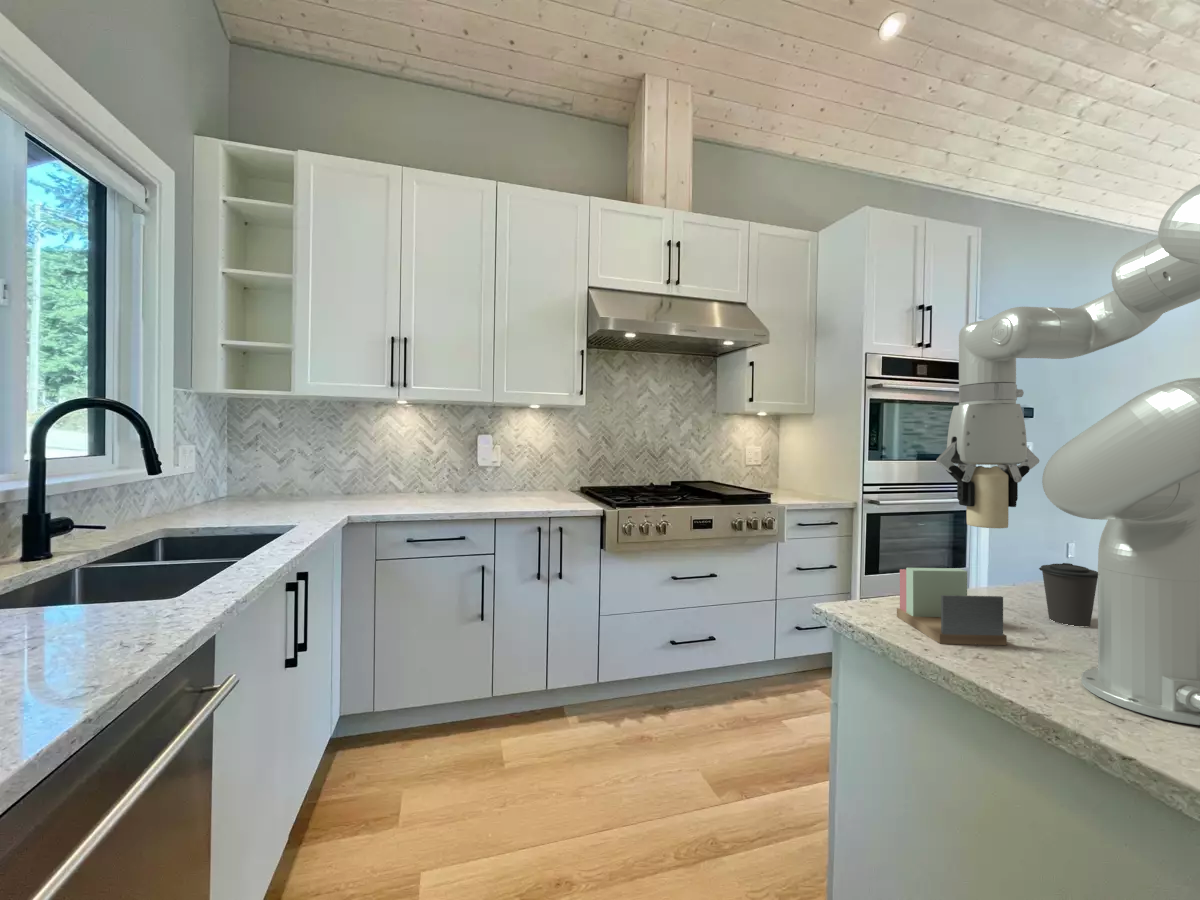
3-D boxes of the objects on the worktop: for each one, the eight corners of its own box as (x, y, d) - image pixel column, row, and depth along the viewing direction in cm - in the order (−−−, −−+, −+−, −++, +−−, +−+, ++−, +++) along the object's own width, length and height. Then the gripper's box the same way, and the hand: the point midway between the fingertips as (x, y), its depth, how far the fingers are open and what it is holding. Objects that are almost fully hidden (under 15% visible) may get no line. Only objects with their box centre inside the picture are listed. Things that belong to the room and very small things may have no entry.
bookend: (1003, 635, 79) (1003, 597, 79) (943, 634, 79) (943, 596, 79) (1000, 634, 79) (1000, 596, 79) (941, 633, 80) (941, 595, 80)
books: (967, 617, 87) (967, 571, 87) (913, 616, 88) (913, 570, 88) (951, 609, 92) (951, 565, 92) (899, 608, 92) (899, 564, 92)
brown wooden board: (1006, 645, 79) (1006, 635, 79) (939, 643, 79) (939, 634, 79) (953, 617, 92) (953, 609, 92) (896, 616, 92) (896, 608, 92)
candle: (1016, 527, 82) (1016, 466, 82) (993, 529, 80) (992, 466, 80) (981, 523, 87) (981, 465, 87) (958, 524, 85) (958, 465, 85)
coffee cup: (1075, 615, 93) (1074, 561, 93) (1115, 630, 85) (1115, 571, 85) (1027, 613, 94) (1027, 560, 94) (1063, 629, 86) (1062, 570, 86)
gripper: (1027, 398, 86) (1027, 504, 86) (919, 399, 88) (919, 503, 88) (1061, 393, 79) (1062, 509, 79) (943, 394, 81) (943, 507, 81)
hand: (986, 504), depth 83 cm, fingers closed on candle, 5 cm apart
